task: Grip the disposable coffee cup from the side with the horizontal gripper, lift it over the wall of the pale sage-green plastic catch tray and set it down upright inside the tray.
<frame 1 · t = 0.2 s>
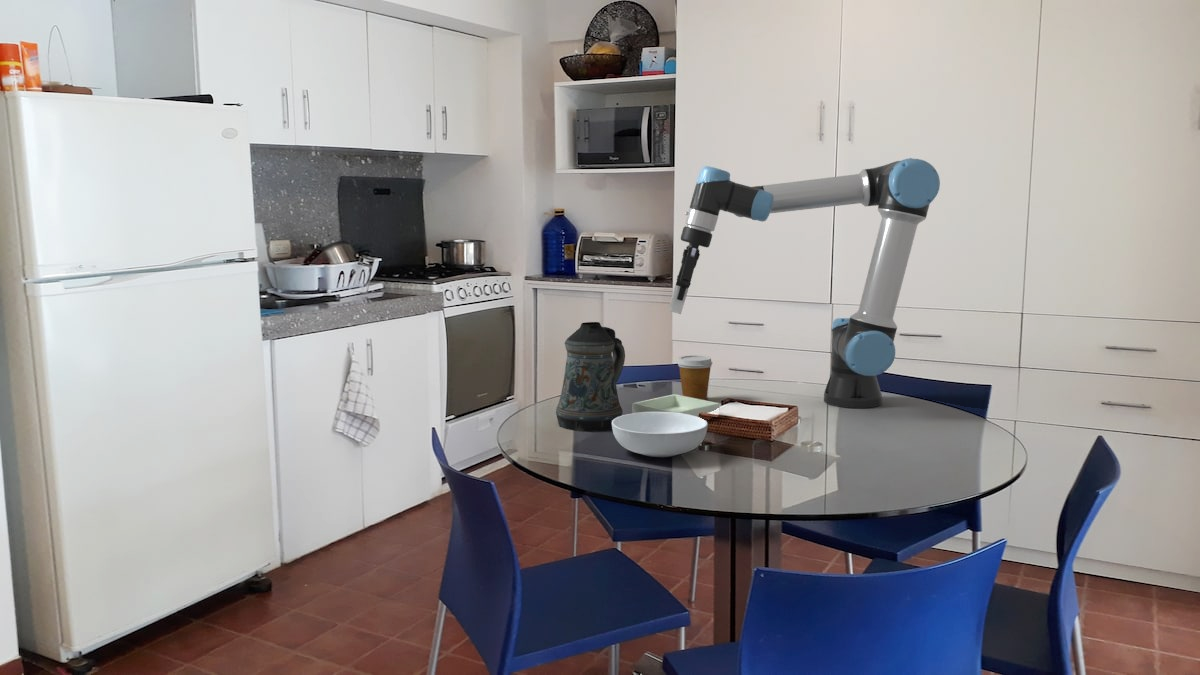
hand: (674, 310, 226), 27 cm above the table, tool tilted 15°, fingers open, 13 cm apart
catch tray: (675, 416, 227), on the table
serving bowl: (659, 452, 195), on the table
beer stein: (591, 422, 223), on the table
disposable coffee cup: (694, 401, 245), on the table
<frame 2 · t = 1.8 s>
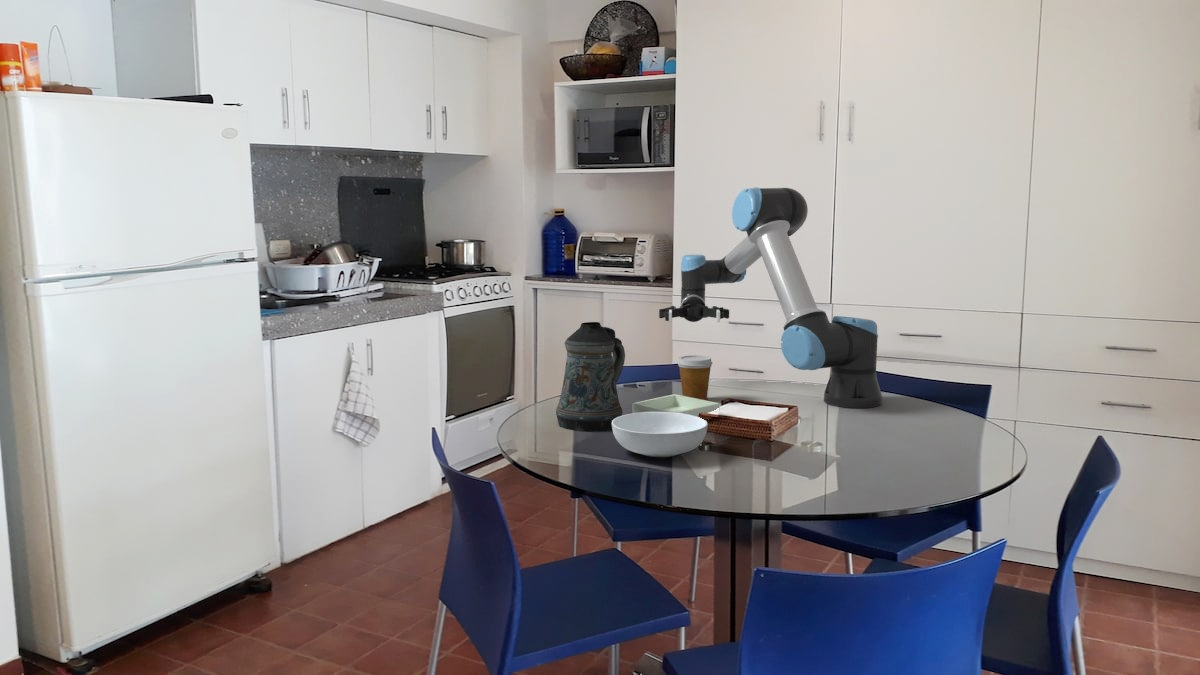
hand: (694, 317, 251), 22 cm above the table, tool horizontal, fingers open, 13 cm apart
nothing on the table moved.
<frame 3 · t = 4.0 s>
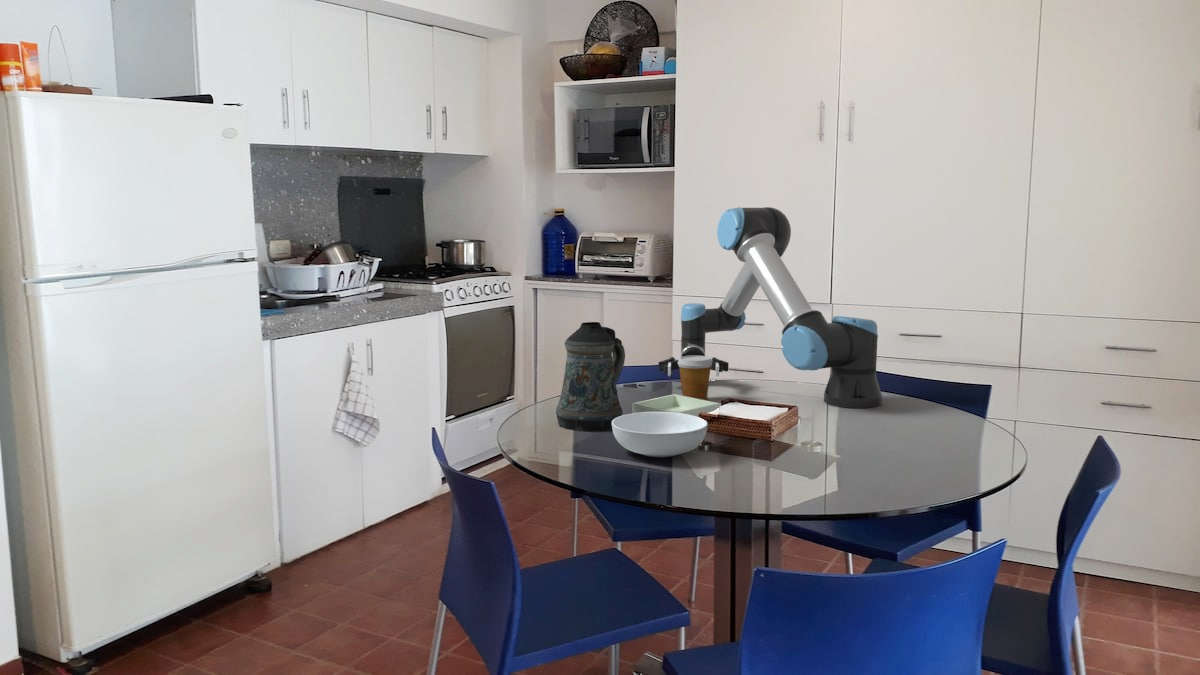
hand: (693, 371, 251), 7 cm above the table, tool horizontal, fingers open, 13 cm apart
nothing on the table moved.
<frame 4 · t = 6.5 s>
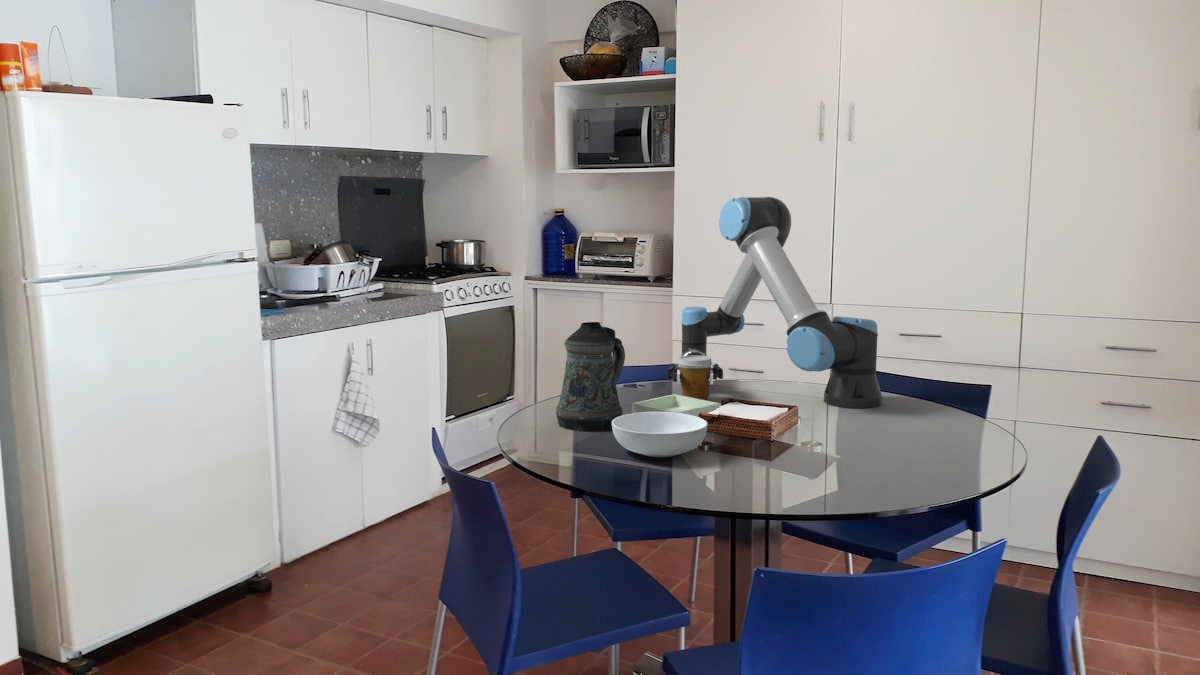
hand: (695, 379, 239), 7 cm above the table, tool horizontal, fingers closed on disposable coffee cup, 8 cm apart
disposable coffee cup: (694, 401, 245), on the table, touching gripper
everything else where it was.
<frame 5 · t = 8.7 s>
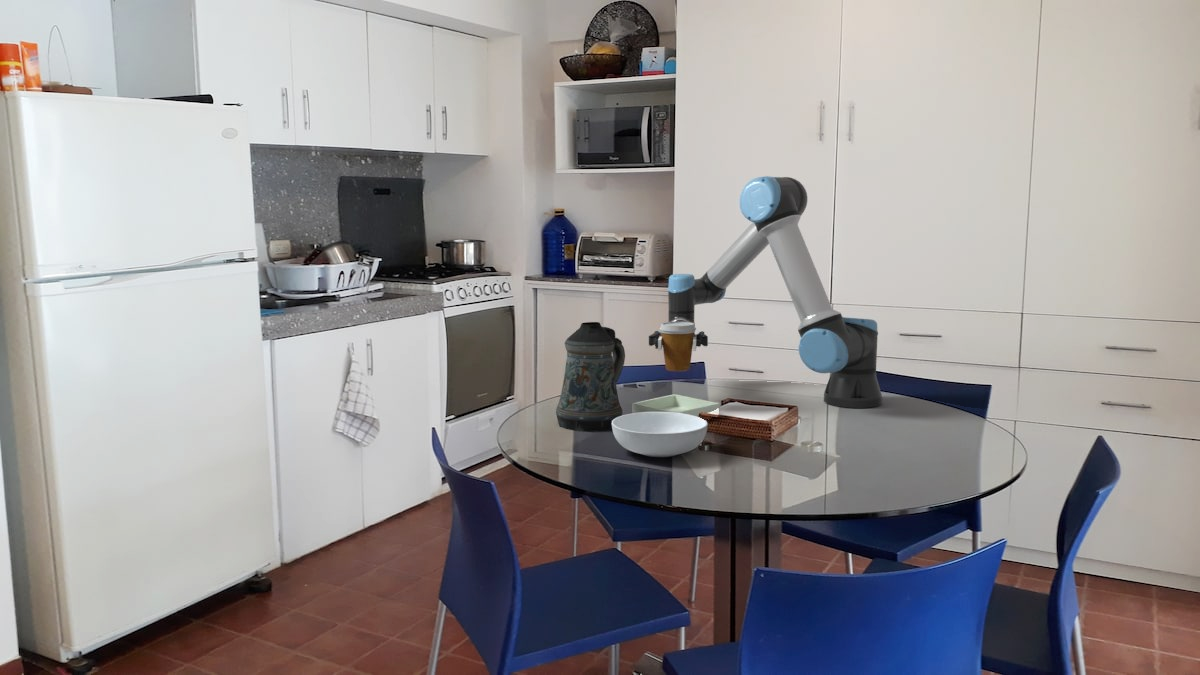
hand: (676, 345, 227), 18 cm above the table, tool horizontal, fingers closed on disposable coffee cup, 8 cm apart
disposable coffee cup: (677, 369, 233), point 11 cm above the table, touching gripper
everything else where it was.
when the fingers open (9 cm above the table, at t = 11.4 s): disposable coffee cup moves 3 cm, resting on catch tray.
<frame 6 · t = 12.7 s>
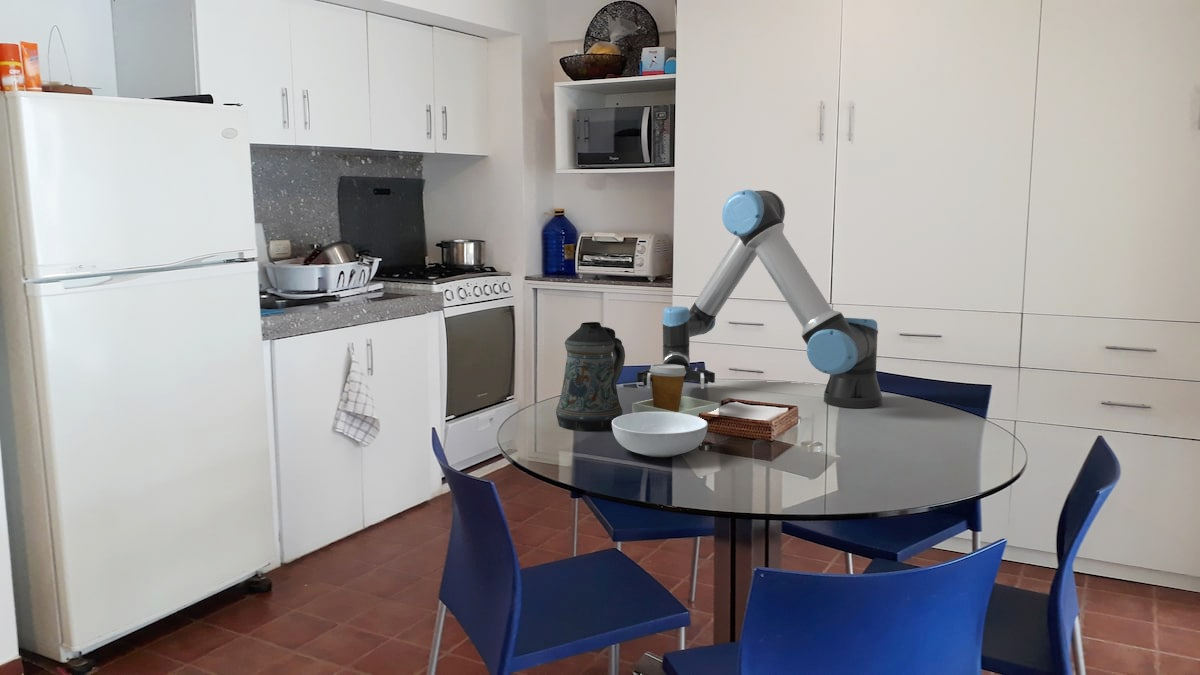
hand: (675, 383, 224), 9 cm above the table, tool horizontal, fingers open, 13 cm apart
disposable coffee cup: (666, 413, 228), point 1 cm above the table, touching catch tray, gripper
everything else where it was.
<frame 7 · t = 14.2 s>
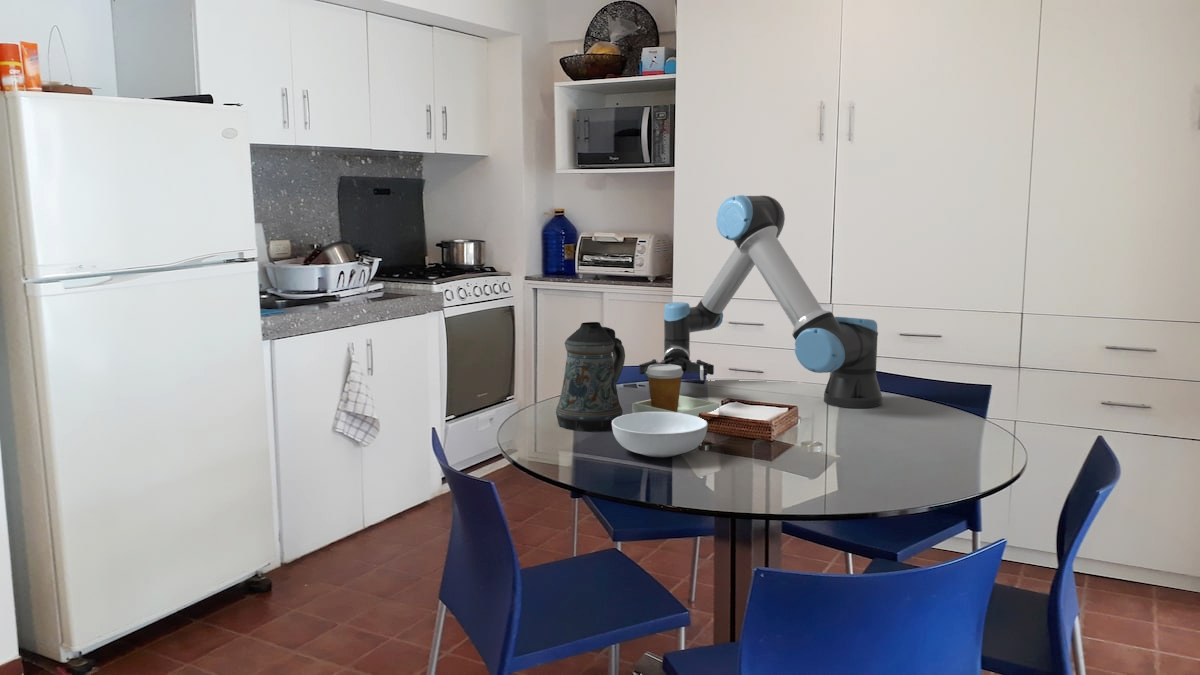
hand: (676, 374, 235), 9 cm above the table, tool horizontal, fingers open, 13 cm apart
disposable coffee cup: (664, 414, 228), resting on catch tray
everything else where it was.
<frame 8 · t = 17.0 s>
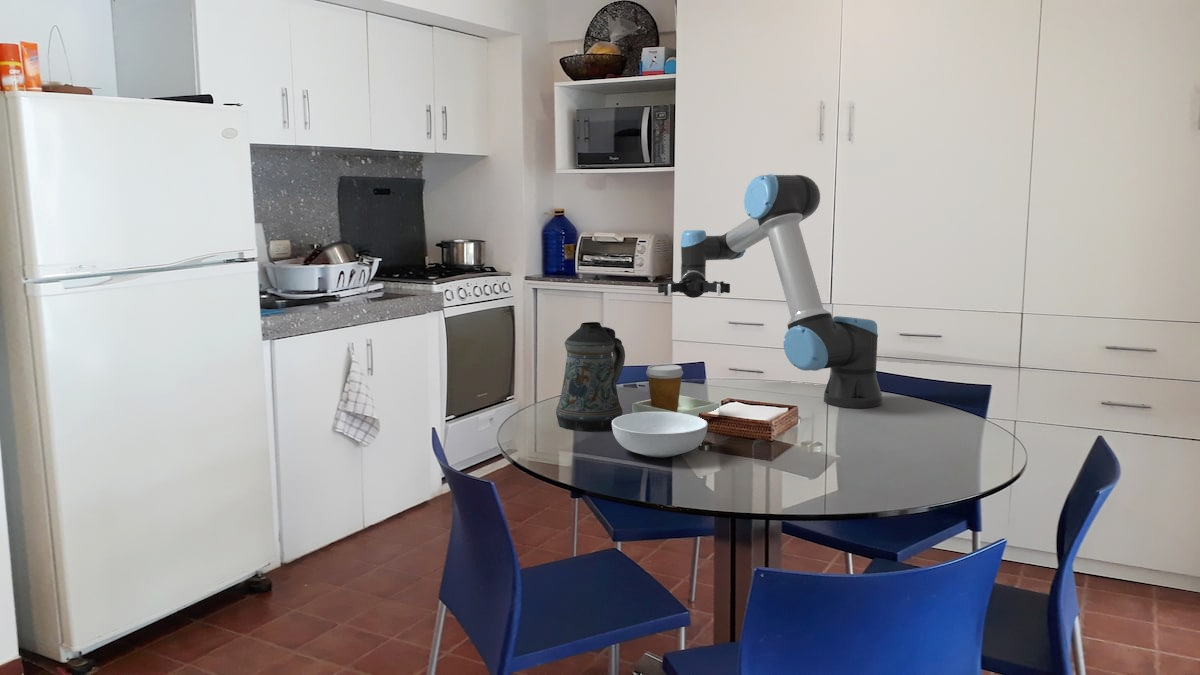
hand: (694, 290, 244), 30 cm above the table, tool horizontal, fingers open, 13 cm apart
nothing on the table moved.
at the end: disposable coffee cup inside the target area on the catch tray (3.0 cm from its centre), point 0.4 cm above the catch tray's base; disposable coffee cup tilted 0°; the gripper is holding nothing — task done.
